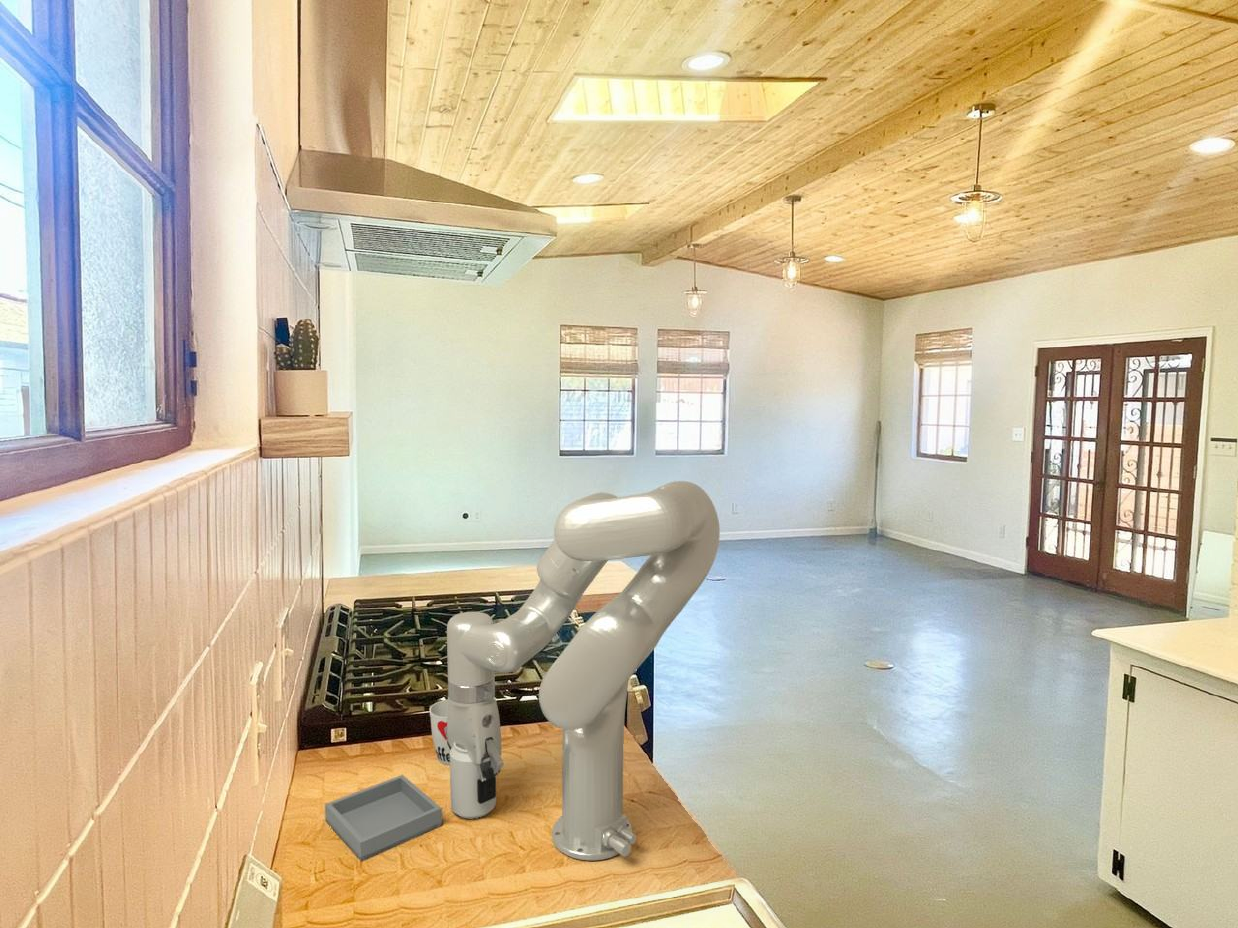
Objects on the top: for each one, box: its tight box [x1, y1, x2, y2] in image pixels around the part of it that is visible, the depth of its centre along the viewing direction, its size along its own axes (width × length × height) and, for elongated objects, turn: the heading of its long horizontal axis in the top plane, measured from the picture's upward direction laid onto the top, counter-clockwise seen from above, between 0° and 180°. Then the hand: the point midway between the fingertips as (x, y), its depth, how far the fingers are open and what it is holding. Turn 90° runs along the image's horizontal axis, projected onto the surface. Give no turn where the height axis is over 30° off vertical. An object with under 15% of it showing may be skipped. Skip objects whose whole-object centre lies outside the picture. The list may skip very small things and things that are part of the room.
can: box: [449, 742, 497, 820], centre depth 125 cm, size 8×8×12 cm
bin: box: [324, 774, 443, 862], centre depth 121 cm, size 14×14×3 cm
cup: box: [429, 698, 450, 766], centre depth 142 cm, size 8×8×10 cm
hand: (473, 788), depth 125 cm, fingers closed on can, 7 cm apart
